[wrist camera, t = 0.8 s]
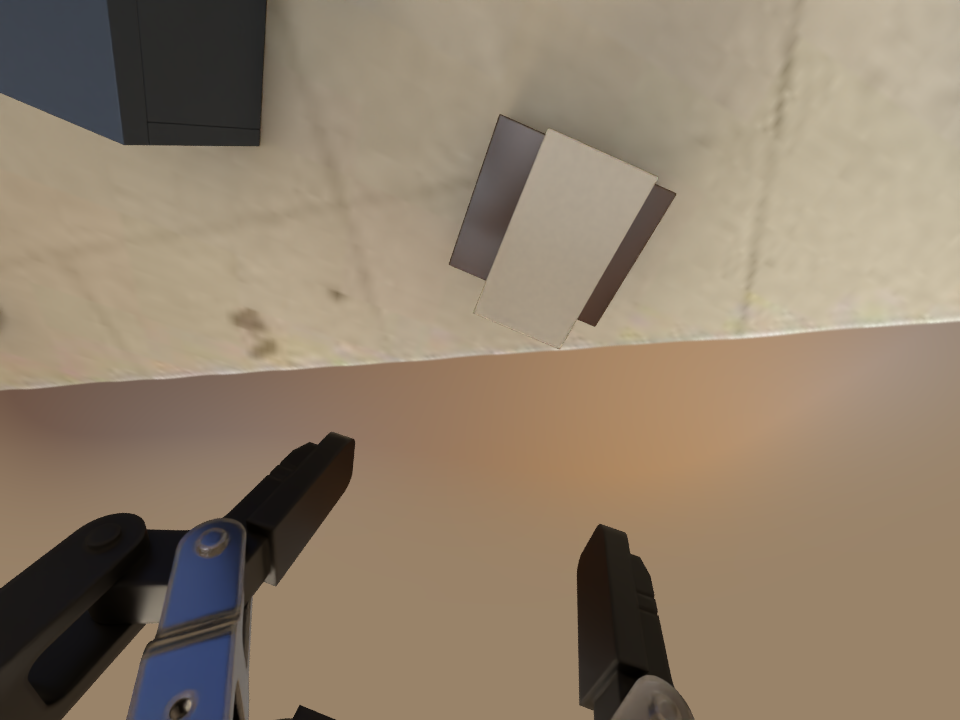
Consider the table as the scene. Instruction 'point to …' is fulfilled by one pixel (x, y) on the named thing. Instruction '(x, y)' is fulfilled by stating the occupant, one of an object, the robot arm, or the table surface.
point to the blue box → (139, 67)
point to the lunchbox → (561, 237)
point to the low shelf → (499, 199)
